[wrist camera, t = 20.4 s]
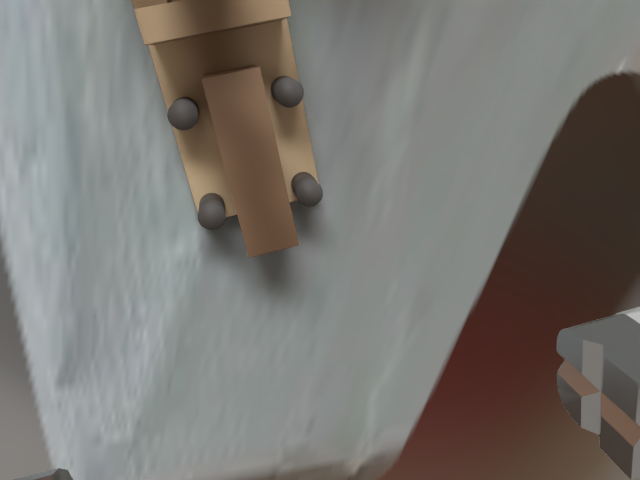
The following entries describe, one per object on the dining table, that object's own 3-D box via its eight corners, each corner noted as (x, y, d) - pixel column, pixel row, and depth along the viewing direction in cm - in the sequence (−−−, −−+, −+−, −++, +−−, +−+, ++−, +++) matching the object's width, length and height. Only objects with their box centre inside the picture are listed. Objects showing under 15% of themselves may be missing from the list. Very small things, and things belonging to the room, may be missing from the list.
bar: (253, 64, 30) (260, 67, 25) (288, 221, 33) (299, 245, 29) (203, 75, 29) (201, 79, 25) (244, 231, 33) (248, 257, 29)
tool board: (256, -126, 27) (264, -163, 23) (317, 190, 34) (333, 212, 29) (107, -102, 26) (83, -135, 22) (201, 217, 33) (198, 245, 29)
